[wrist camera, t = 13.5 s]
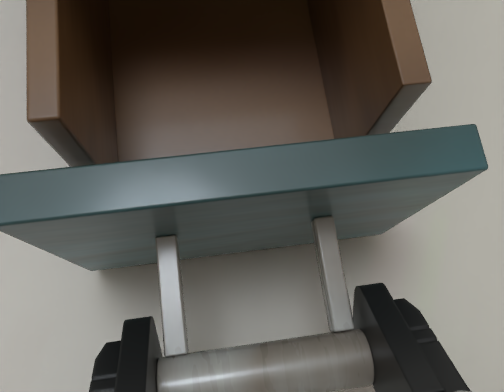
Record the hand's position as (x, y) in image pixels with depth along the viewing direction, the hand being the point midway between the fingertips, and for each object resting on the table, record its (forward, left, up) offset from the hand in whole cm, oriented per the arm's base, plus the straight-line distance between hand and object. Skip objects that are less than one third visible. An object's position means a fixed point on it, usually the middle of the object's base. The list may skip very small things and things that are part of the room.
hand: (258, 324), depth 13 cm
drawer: (+7, +2, -4) cm, 8 cm away
